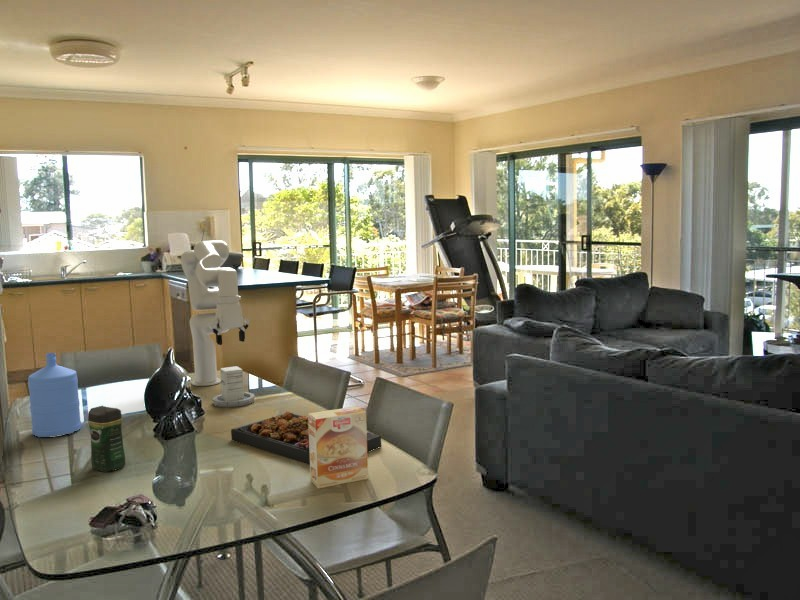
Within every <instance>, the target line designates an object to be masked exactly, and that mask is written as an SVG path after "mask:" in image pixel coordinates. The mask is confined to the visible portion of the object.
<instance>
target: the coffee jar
mask: <svg viewBox="0 0 800 600" xmlns="http://www.w3.org/2000/svg"><path fill="white" fill-rule="evenodd" d="M87 414H88V415H87V422H88V427H89V433H90V434H89V435H90V449H91V450H90V452H91V453H90V454H91V455H90V457H91V462H90V463H91V468H92V469H93V470H97V471H100V472H105V471H107V472H110V471H111V470H112V471H116V470H115V469H118V468H120V469H122V468H123V467H125V466H126V455H125V448H124V439H123V431H122V428H123V427H122V426H123V425H122V424H123V415H122V410H121V409H119V408H117V407H110V406H104V405H100V406H95V407H91V408H90V409H89V411H88V413H87ZM121 467H122V468H121ZM118 470H119V469H118Z"/></svg>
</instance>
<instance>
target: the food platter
mask: <svg viewBox="0 0 800 600" xmlns="http://www.w3.org/2000/svg"><path fill="white" fill-rule="evenodd" d="M230 431H231V441H232V440H234V441H233V442H236V441H237V443H239V442H240V443H239V444H242V443H243V444H242V445H245V444H246V446H248V445H249V446H248V447H252V448H255V449H258V450H261V451H264V452H268V453H271V454H273V455H277V456H281V457H283V458H288V459H290V460H292V461H296V462H298V463H299V462H300V463H302V464H305V465H308V466H310V452H309V425H308V416H306V415H299V414H295V413H293V412H290V411H285V412H284V413H282V414H280V415H277V416H272V417H269V418H266V419H261V420H258V421H255V422H252V423H251V422H250V423H248V424H244V425H241V426H237V427H234V428H231V430H230ZM378 447H381V448H382V436H381V435H380V434H375V433H372V432H371V431H369V432H368V431H367V452H368V453H370V452H369V451H371V450H373V449H376V448H378ZM378 449H379V448H378ZM376 450H377V449H376ZM373 451H374V450H373ZM371 452H372V451H371Z"/></svg>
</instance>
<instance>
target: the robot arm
mask: <svg viewBox="0 0 800 600" xmlns="http://www.w3.org/2000/svg"><path fill="white" fill-rule="evenodd" d="M229 249H230V248H229V246H228V243H226V242H225V241H223V240H201V241H198V242H197V243H195V244H194V247H193V249H191V250H187V251H184V252H183V253H182V254H181V256H180V263H181V268H182V271H183V273H184V275H185V277H186V280H187V284H188V285H187V286H188V292H189V301H190V306H191V309H192V310H194V311H198V312H199V311H200V312H201V311H213V310H214V311H215V312H204V313H197V314H194V315H192V316H191V317H190V319H189V327H190V328H189V329H190V332H191V337H192V338H191V339H192V349H193V365H194V380H192V381H191V385H192V386H195V387H207V386H214V385H217V384H221V377H220V378H219V377H218V371H217V370H218V369H217V368H218V367H217V352H216V344H217V345H219V346H222V345H223V335H222V334H223V333H227V332H228V331H229V330H233V329H238V330H239V331H238V341H239V342H242V343H243V342H245V339H246V331H247V329H248V328H249V324H250V323H251V320H250V319H249V318H247V317H244V316H243V310H242V306H241V302H240V300H242V296H241V295H239V290H238V289H239V288H238V286H239V285H238V272H237V270H236V269H234V268H233V267H229V266H227V267H225V266H224V267H222V266H223V265H224V263H225V262H226V261H227V260H228V258H229V254H230V250H229ZM214 287H215V288H214ZM210 335H215V341H214V340H213V339H212V338H211V337H210ZM215 342H216V343H215Z"/></svg>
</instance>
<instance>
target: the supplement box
mask: <svg viewBox="0 0 800 600" xmlns="http://www.w3.org/2000/svg"><path fill="white" fill-rule="evenodd" d="M219 370H220V372H219V373H220V379H221V382H220V386H221V387H220V388H221V394H222V399H224V400H225V401H238V400H243V399H244V392H245V389H244V388H245V387H244V373H243V371H244V370H243V369H242V368H241V367H239V366H236V365H235V366H228V367H221V368H219Z"/></svg>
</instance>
